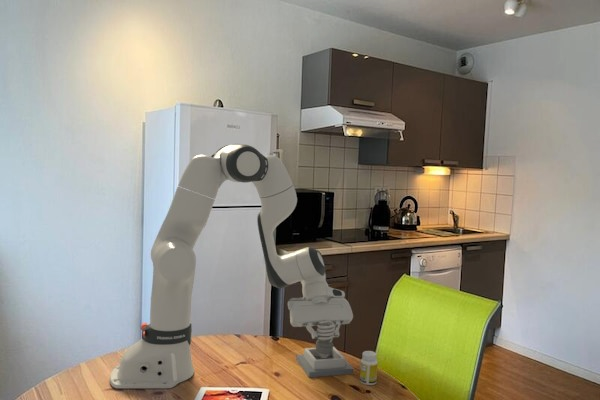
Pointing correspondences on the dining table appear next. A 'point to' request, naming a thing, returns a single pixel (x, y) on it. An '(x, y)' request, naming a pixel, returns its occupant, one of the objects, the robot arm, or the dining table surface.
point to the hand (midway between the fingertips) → (326, 337)
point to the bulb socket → (323, 363)
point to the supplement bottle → (368, 368)
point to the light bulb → (325, 338)
